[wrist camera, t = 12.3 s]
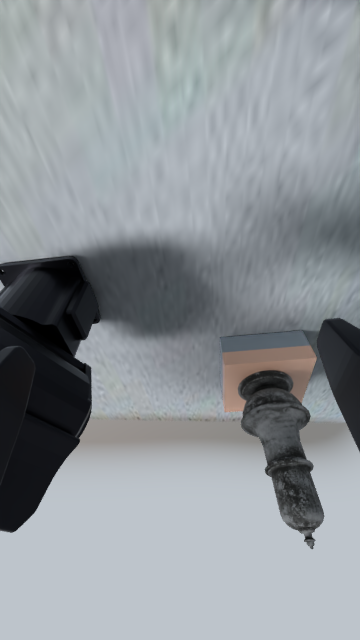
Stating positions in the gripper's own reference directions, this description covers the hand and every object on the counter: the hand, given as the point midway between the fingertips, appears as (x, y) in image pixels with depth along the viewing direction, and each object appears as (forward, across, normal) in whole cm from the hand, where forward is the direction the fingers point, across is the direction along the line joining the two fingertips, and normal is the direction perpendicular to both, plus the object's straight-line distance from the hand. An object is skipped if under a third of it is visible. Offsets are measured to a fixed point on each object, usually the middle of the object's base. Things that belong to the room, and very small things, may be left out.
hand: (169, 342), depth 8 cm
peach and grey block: (+13, -7, +17) cm, 23 cm away
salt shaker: (+10, -7, +17) cm, 21 cm away
